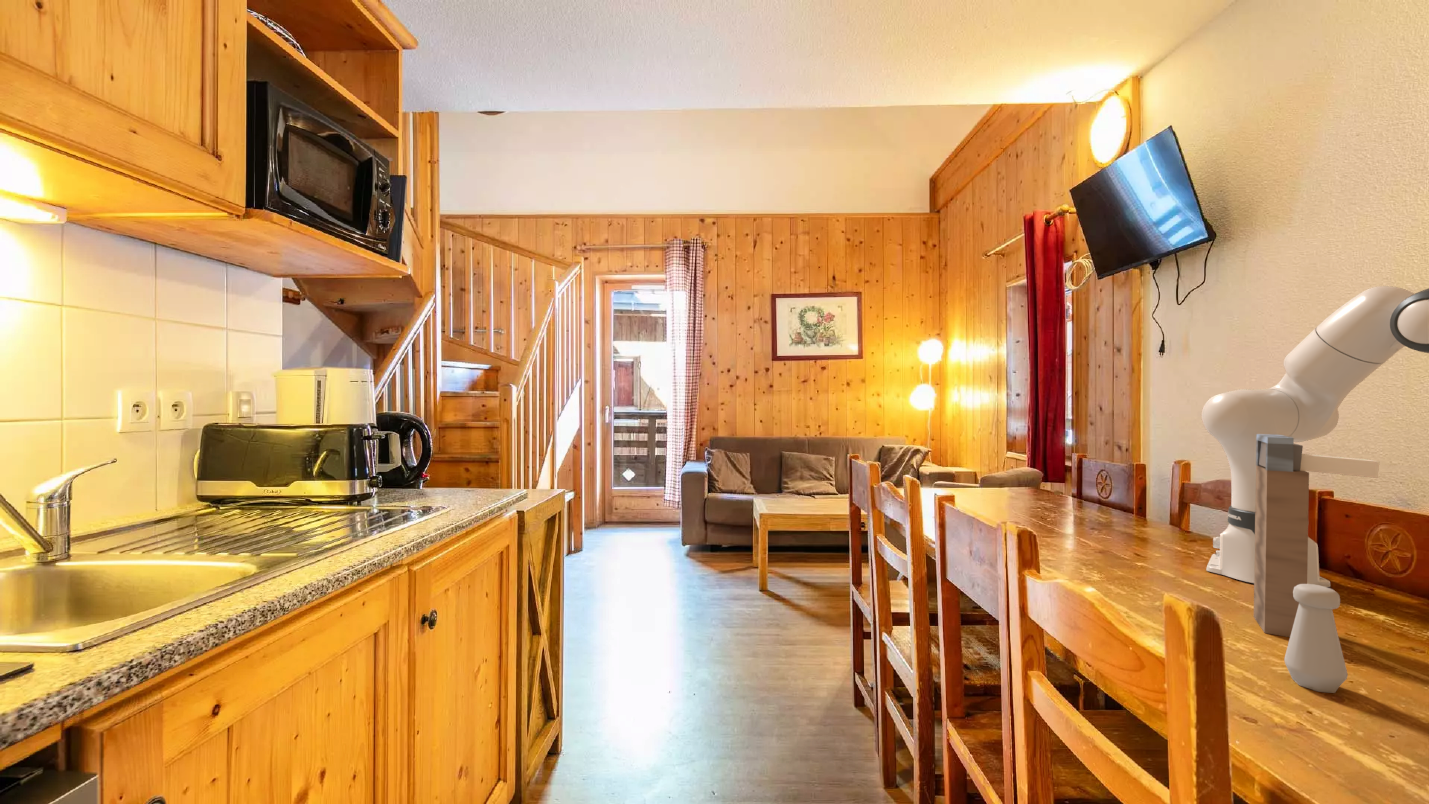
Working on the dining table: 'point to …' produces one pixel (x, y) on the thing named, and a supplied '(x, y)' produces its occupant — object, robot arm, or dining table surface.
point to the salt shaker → (1315, 640)
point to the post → (1279, 535)
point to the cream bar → (1328, 463)
